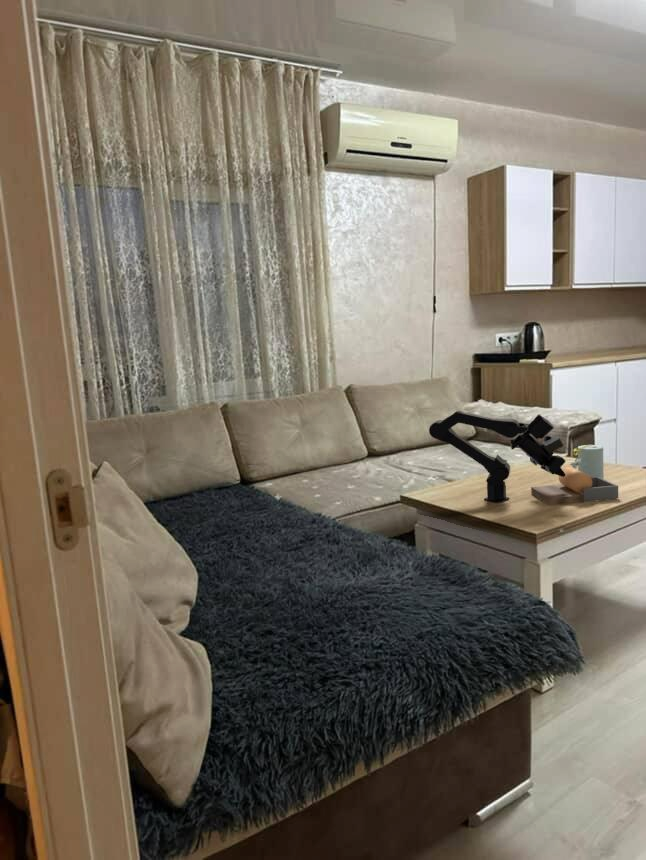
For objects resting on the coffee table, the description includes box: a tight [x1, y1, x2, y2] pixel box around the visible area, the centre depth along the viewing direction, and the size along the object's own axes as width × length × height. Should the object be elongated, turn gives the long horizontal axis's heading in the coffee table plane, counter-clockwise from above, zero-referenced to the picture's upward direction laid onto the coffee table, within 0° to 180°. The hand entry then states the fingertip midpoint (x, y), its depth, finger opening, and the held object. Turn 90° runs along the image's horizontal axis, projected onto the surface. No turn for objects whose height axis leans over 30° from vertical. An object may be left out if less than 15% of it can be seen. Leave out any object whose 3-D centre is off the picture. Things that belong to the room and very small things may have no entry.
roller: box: [558, 466, 592, 493], centre depth 213 cm, size 11×7×7 cm
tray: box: [581, 477, 619, 503], centre depth 214 cm, size 12×15×4 cm
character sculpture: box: [570, 444, 605, 480], centre depth 233 cm, size 20×12×13 cm, turn 137°
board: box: [530, 484, 585, 506], centre depth 214 cm, size 12×16×2 cm
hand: (564, 475), depth 213 cm, fingers closed
